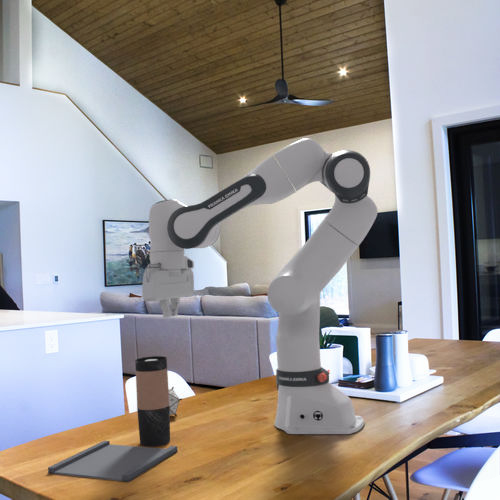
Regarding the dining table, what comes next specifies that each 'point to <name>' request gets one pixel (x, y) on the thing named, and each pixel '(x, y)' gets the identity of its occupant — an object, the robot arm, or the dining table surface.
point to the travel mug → (153, 401)
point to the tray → (112, 461)
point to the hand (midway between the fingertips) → (170, 316)
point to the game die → (173, 402)
